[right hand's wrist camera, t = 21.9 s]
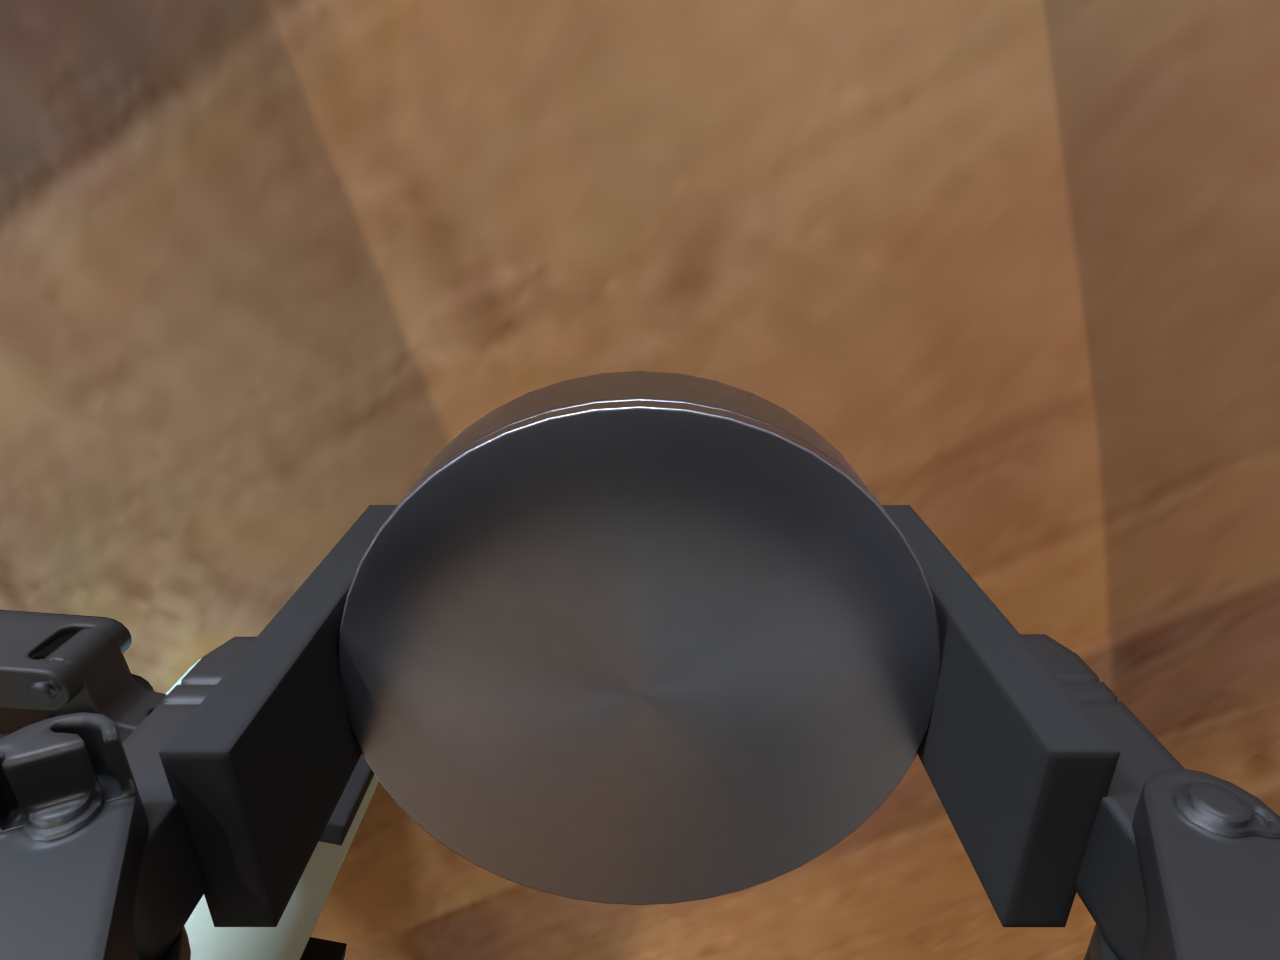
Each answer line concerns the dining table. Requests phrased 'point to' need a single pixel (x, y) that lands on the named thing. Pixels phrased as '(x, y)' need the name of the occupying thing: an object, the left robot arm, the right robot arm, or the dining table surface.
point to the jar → (276, 951)
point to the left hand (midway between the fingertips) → (343, 900)
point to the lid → (639, 643)
